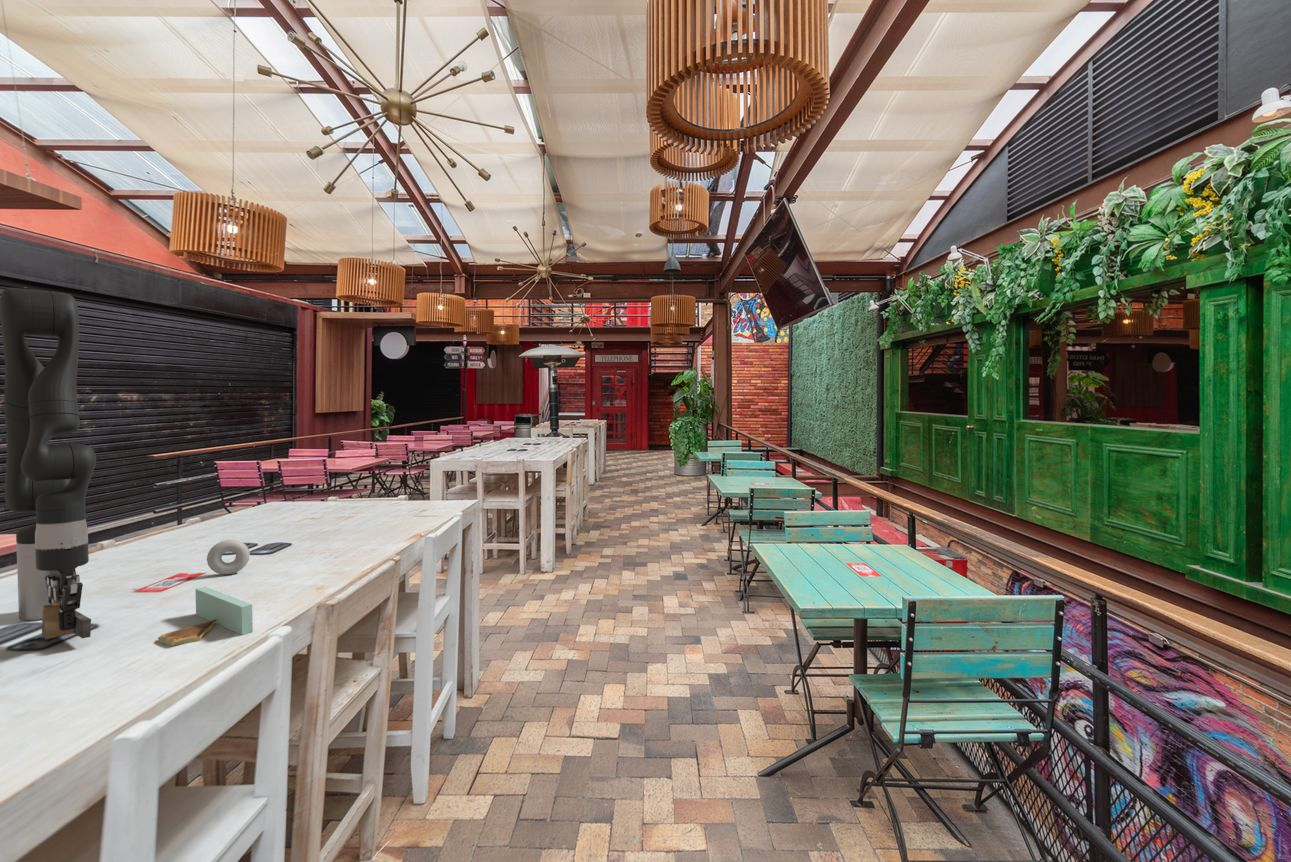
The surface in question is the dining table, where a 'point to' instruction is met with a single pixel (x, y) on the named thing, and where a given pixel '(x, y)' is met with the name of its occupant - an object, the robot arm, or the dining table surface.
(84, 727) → the dining table surface
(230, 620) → the stop rail
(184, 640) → the shard
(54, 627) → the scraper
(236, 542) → the donut
